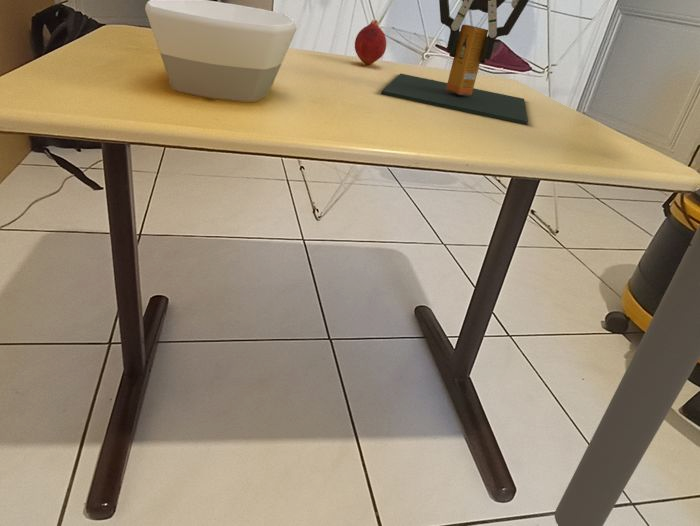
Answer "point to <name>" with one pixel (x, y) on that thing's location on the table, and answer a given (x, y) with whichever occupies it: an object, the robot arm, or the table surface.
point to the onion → (370, 43)
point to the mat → (458, 98)
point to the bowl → (220, 47)
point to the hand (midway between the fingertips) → (467, 58)
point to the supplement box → (466, 60)
